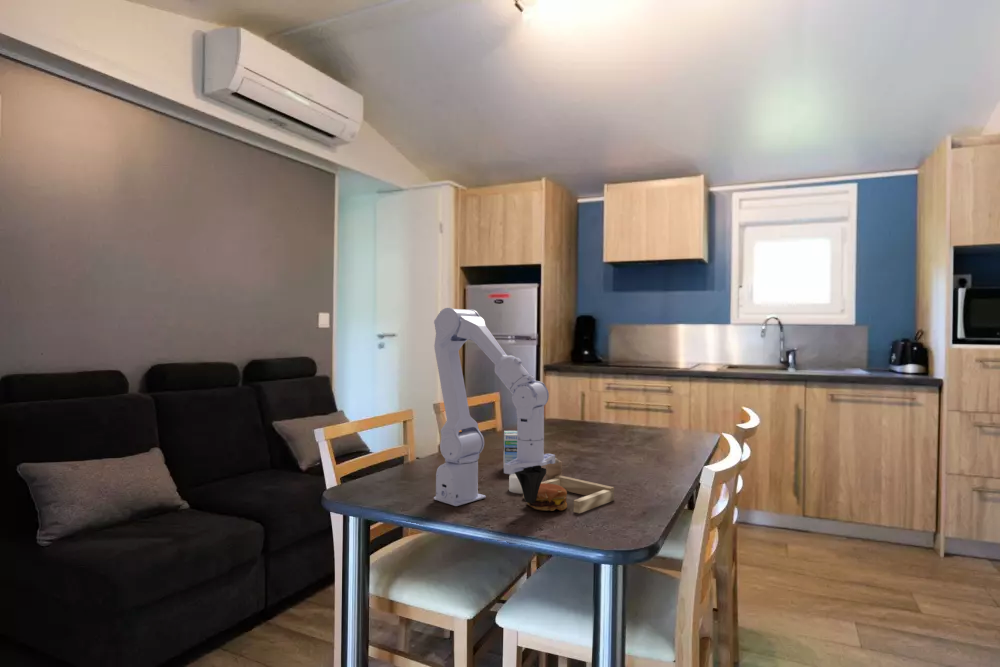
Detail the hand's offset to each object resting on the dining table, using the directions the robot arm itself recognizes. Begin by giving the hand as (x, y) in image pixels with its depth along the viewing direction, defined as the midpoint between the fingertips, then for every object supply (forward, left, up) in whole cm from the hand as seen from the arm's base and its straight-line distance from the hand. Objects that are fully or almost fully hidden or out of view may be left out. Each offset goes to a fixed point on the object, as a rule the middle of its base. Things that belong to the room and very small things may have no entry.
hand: (530, 502), depth 121 cm
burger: (+6, 0, -2) cm, 6 cm away
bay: (+14, 0, -2) cm, 14 cm away
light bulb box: (+27, +26, -2) cm, 37 cm away
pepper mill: (+21, +10, -2) cm, 23 cm away
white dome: (+12, +13, -2) cm, 18 cm away
